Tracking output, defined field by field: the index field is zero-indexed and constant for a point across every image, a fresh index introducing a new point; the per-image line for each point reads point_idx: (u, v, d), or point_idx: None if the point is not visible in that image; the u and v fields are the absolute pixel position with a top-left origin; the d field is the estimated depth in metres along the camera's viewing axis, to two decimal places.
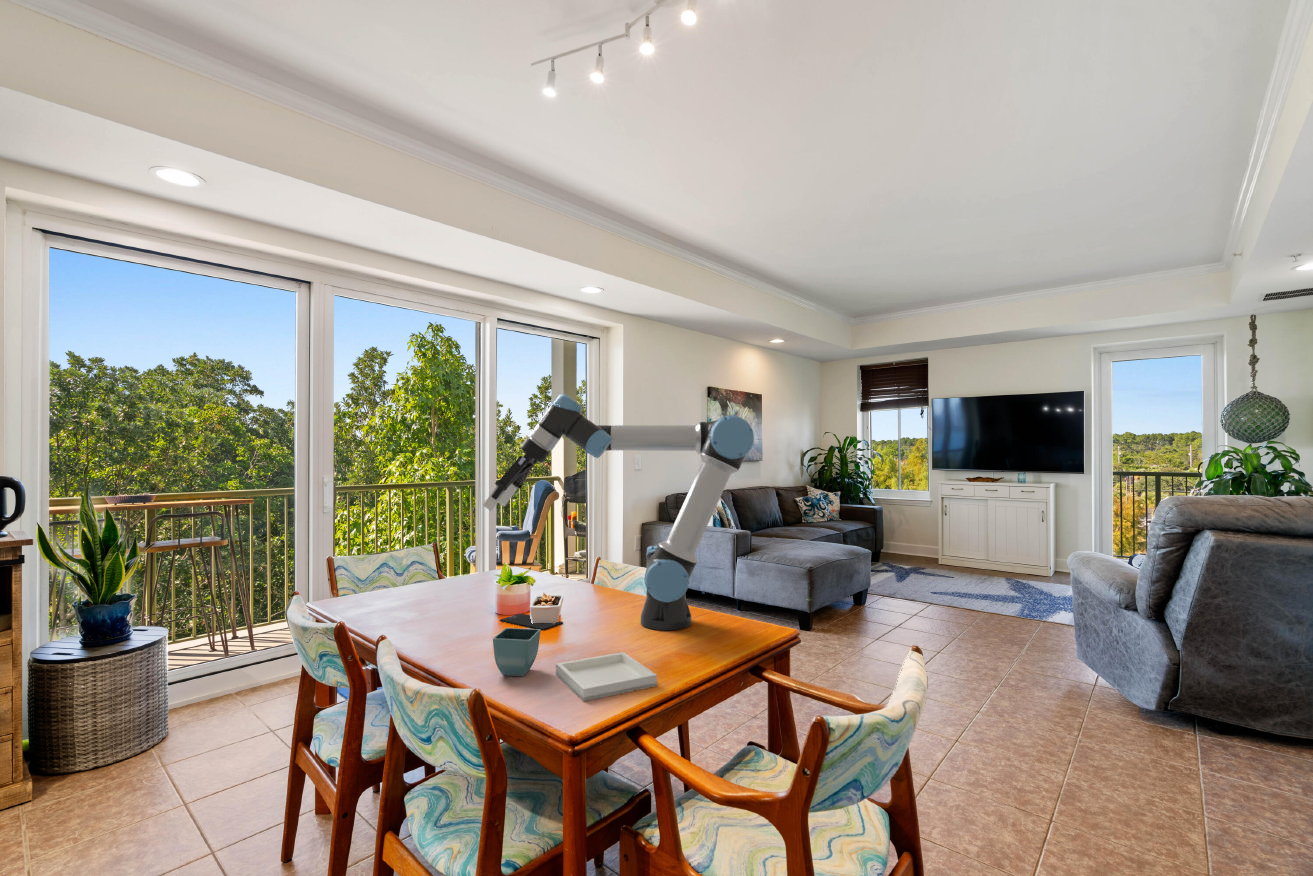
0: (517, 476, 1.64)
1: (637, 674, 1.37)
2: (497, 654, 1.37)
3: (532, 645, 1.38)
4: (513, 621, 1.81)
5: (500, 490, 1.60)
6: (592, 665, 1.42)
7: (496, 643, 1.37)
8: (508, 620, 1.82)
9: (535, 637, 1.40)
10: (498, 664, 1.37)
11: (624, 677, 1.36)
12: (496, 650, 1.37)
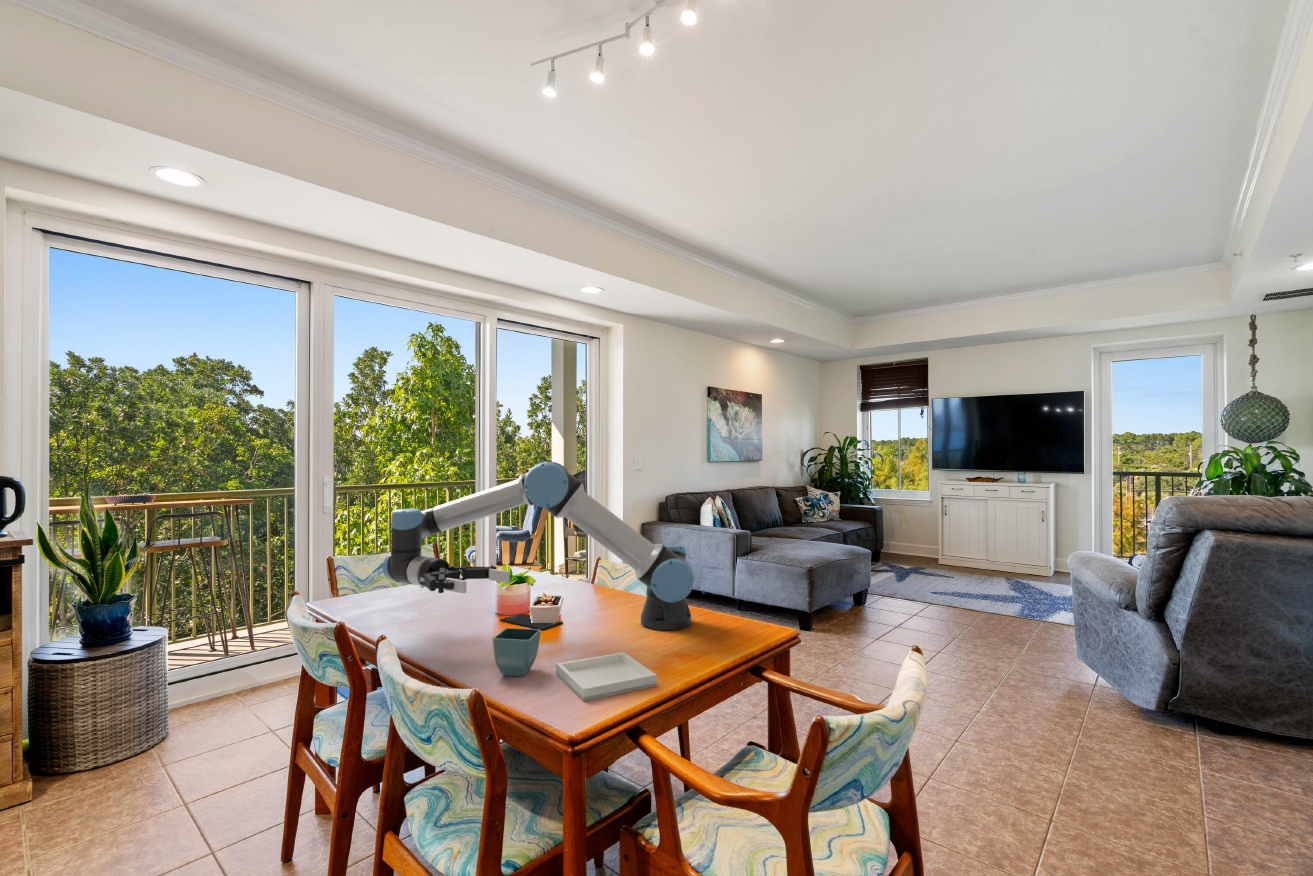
0: (440, 575, 1.48)
1: (637, 674, 1.37)
2: (497, 654, 1.37)
3: (532, 645, 1.38)
4: (513, 621, 1.81)
5: (441, 583, 1.42)
6: (592, 665, 1.42)
7: (496, 643, 1.37)
8: (508, 620, 1.82)
9: (535, 637, 1.40)
10: (498, 664, 1.37)
11: (624, 677, 1.36)
12: (496, 650, 1.37)
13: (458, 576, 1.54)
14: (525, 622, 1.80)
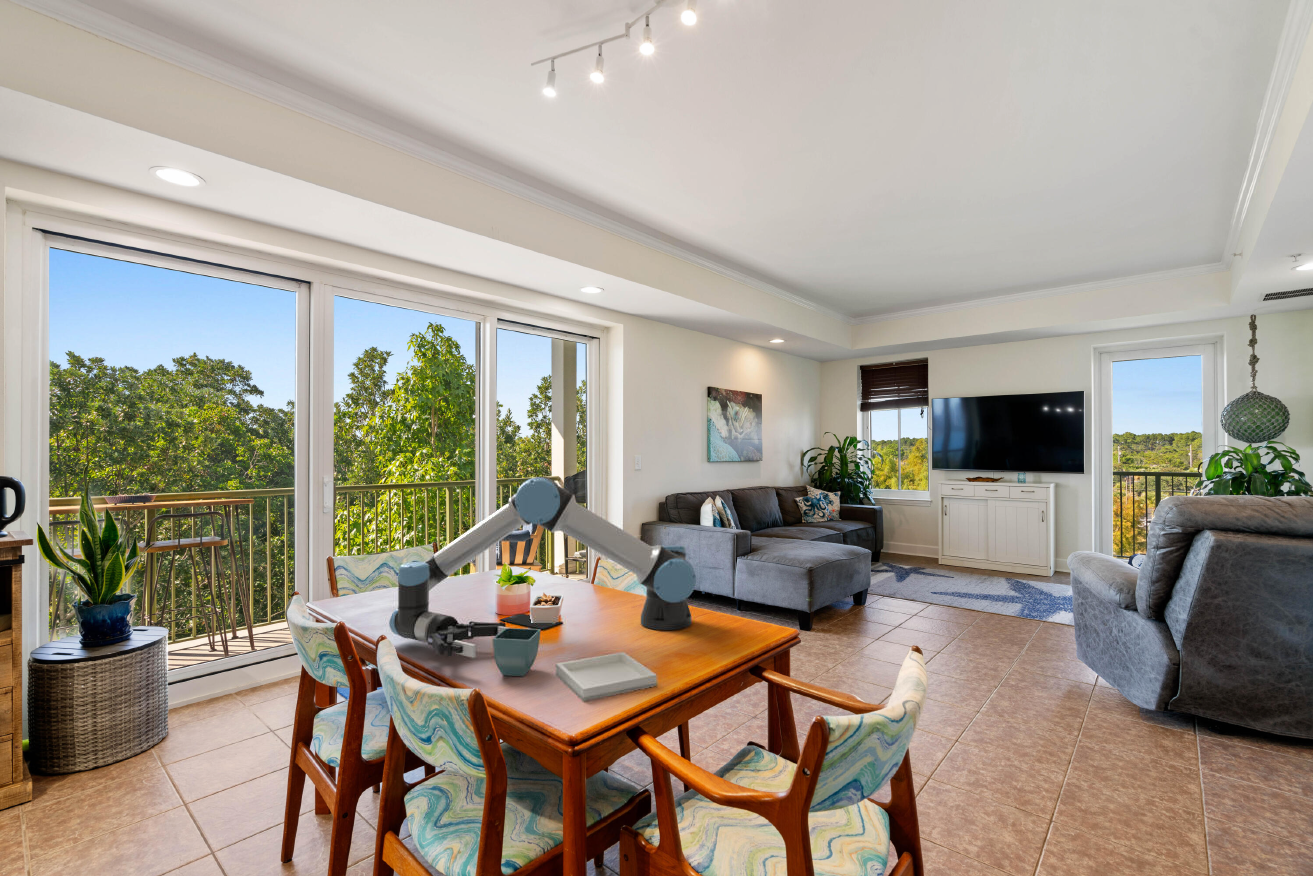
0: (448, 635, 1.45)
1: (637, 674, 1.37)
2: (497, 654, 1.37)
3: (532, 645, 1.38)
4: (513, 621, 1.81)
5: (450, 646, 1.40)
6: (592, 665, 1.42)
7: (496, 643, 1.37)
8: (508, 620, 1.82)
9: (535, 637, 1.40)
10: (498, 664, 1.37)
11: (624, 677, 1.36)
12: (496, 650, 1.37)
13: (466, 634, 1.51)
14: (525, 622, 1.80)
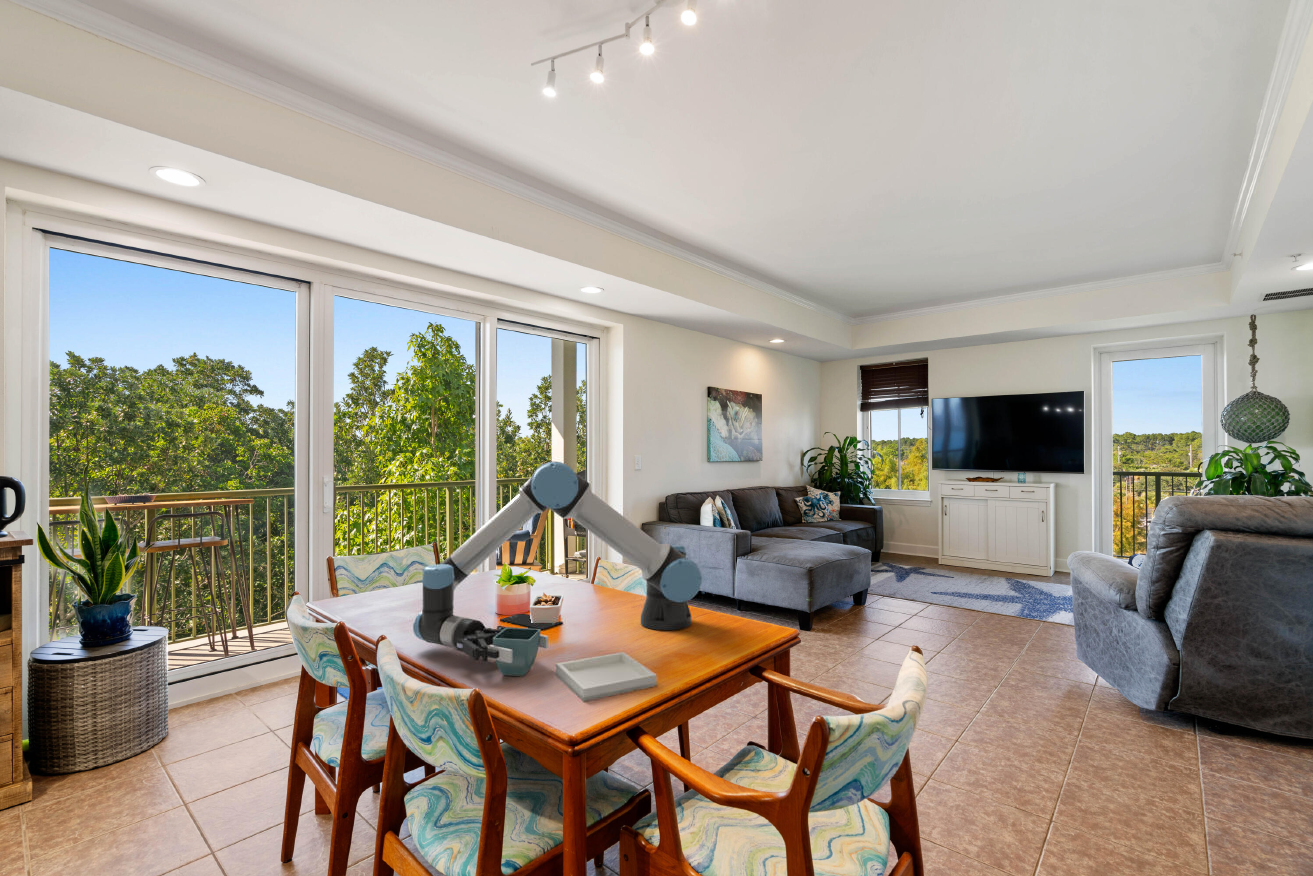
0: (480, 640, 1.41)
1: (637, 674, 1.37)
2: None
3: (532, 645, 1.38)
4: (513, 621, 1.81)
5: (486, 651, 1.35)
6: (592, 665, 1.42)
7: (496, 643, 1.37)
8: (508, 620, 1.82)
9: (535, 637, 1.40)
10: (498, 664, 1.37)
11: (624, 677, 1.36)
12: None
13: None
14: (525, 622, 1.80)
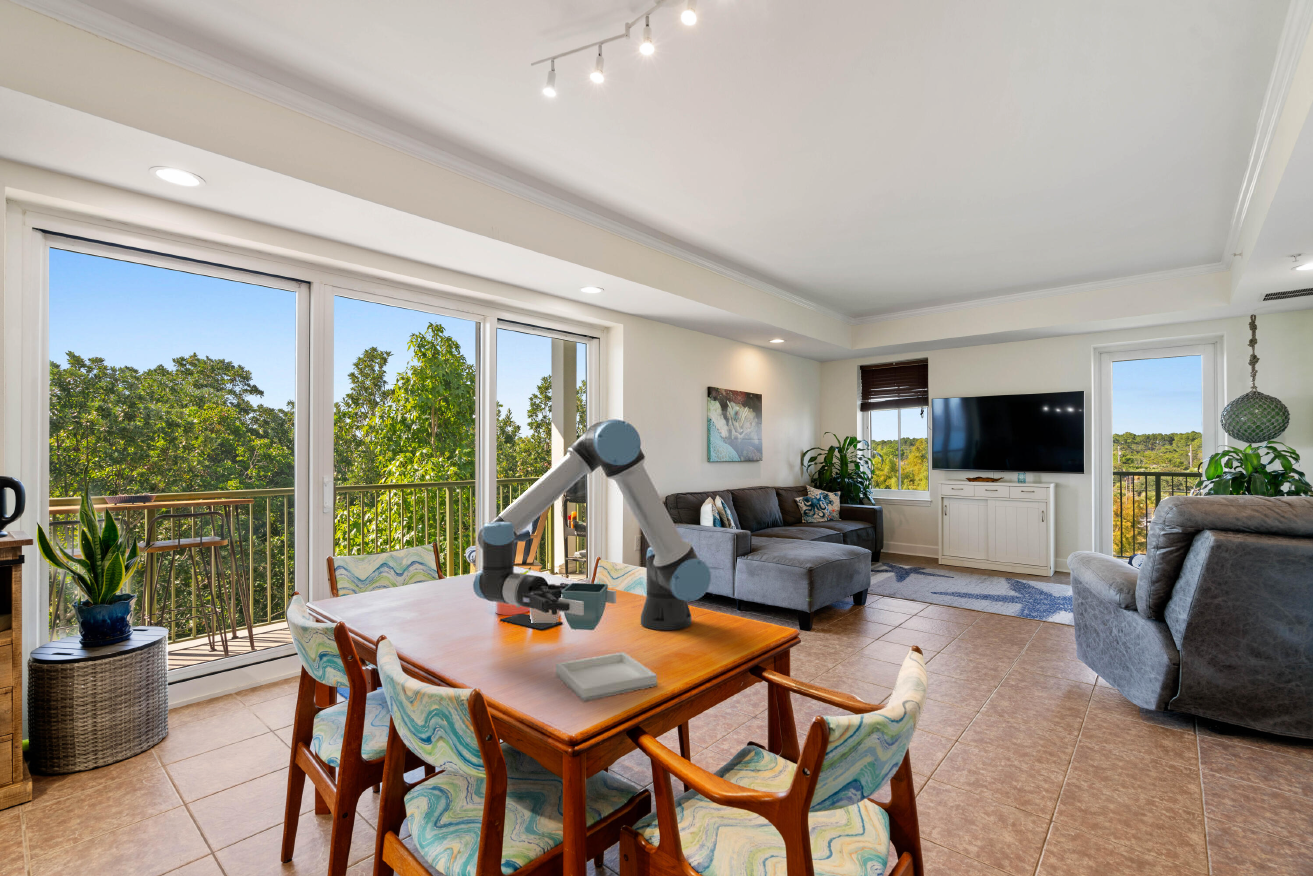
0: (547, 594, 1.37)
1: (637, 674, 1.37)
2: None
3: (602, 598, 1.34)
4: (513, 621, 1.81)
5: (555, 604, 1.31)
6: (592, 665, 1.42)
7: (565, 596, 1.33)
8: (508, 620, 1.82)
9: (604, 590, 1.36)
10: (567, 617, 1.33)
11: (624, 677, 1.36)
12: None
13: (560, 595, 1.42)
14: (525, 622, 1.80)
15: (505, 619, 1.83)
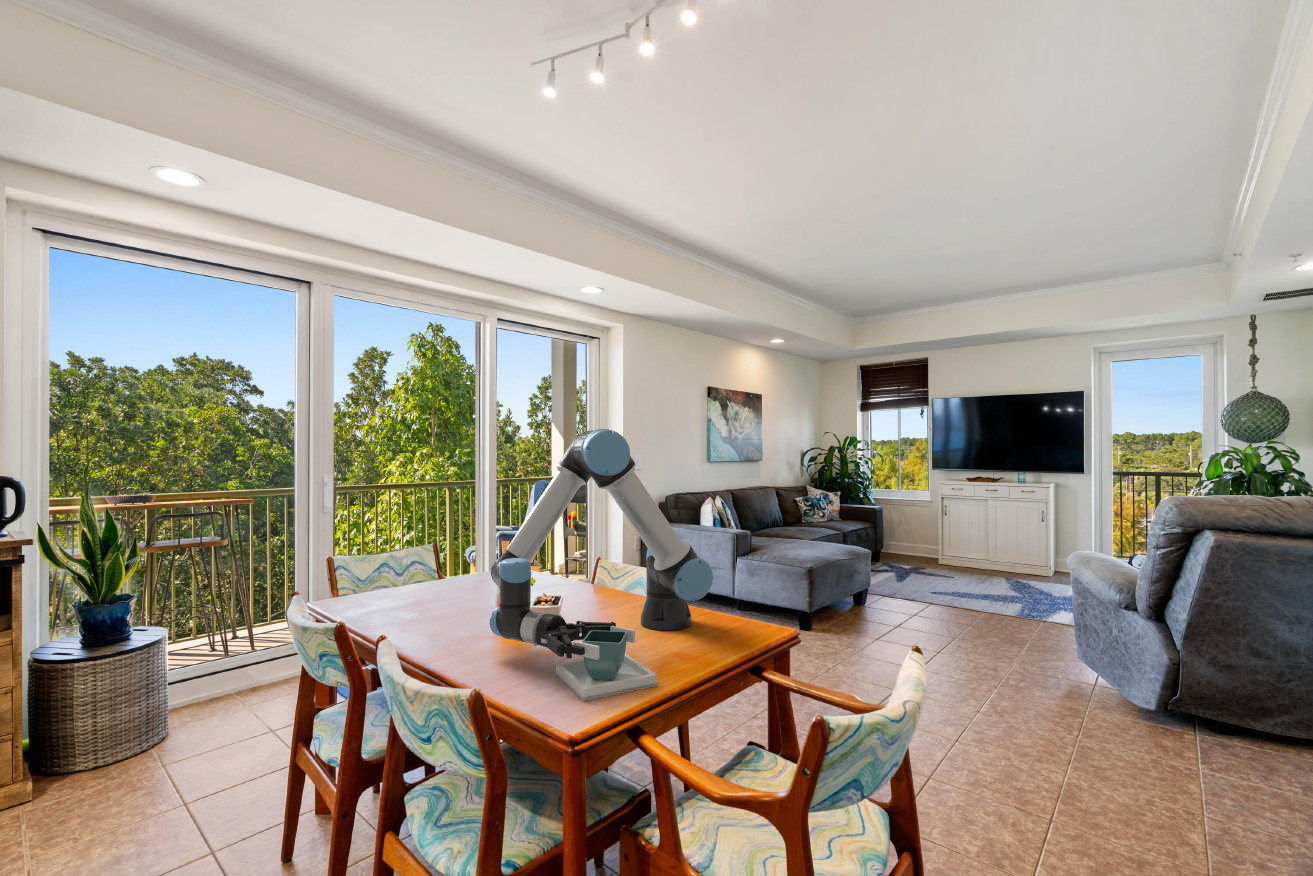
0: (564, 636, 1.36)
1: (637, 674, 1.37)
2: (587, 658, 1.32)
3: (622, 648, 1.34)
4: None
5: (571, 648, 1.30)
6: None
7: None
8: None
9: (624, 640, 1.36)
10: (588, 668, 1.33)
11: (624, 677, 1.36)
12: None
13: (578, 635, 1.42)
14: None
15: None
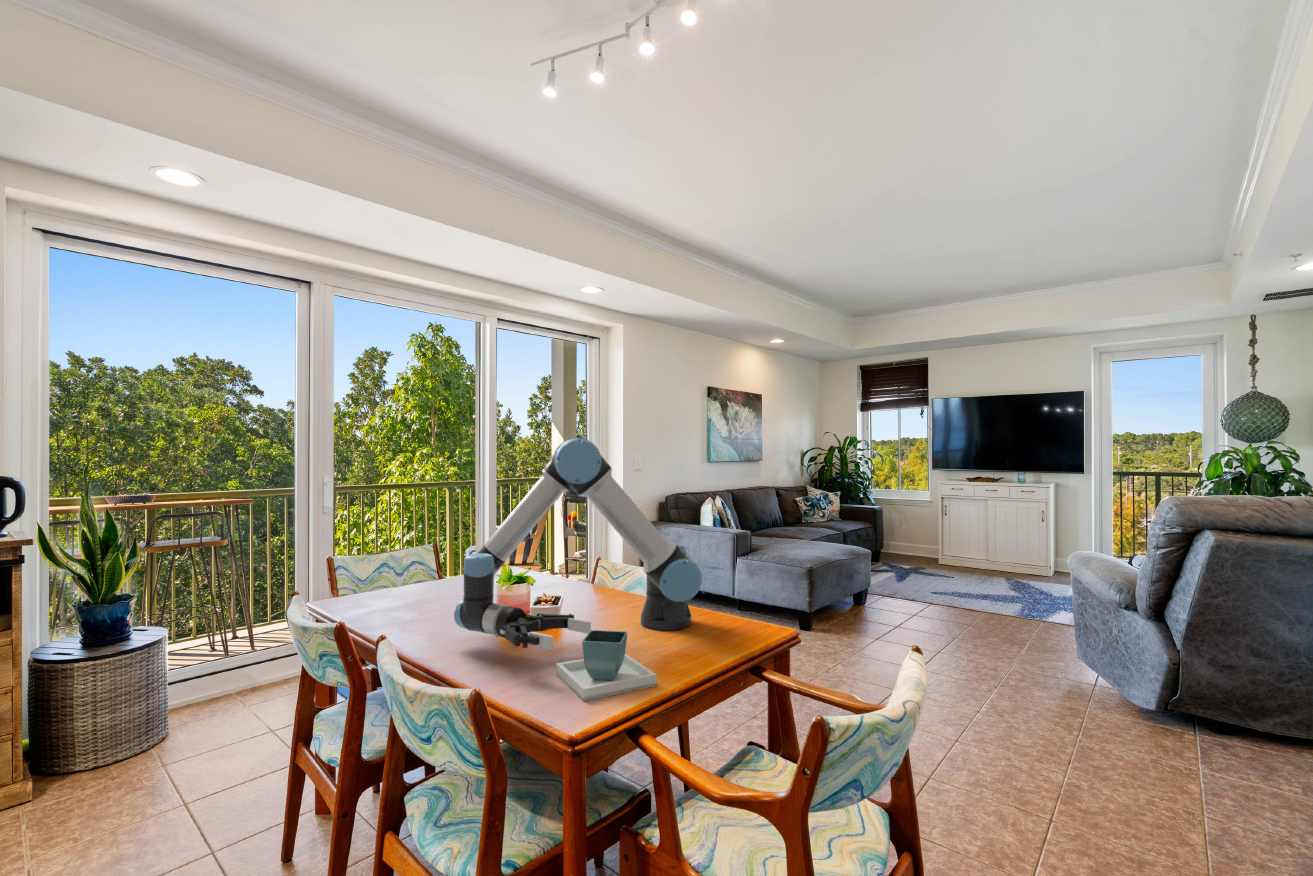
0: (521, 627, 1.43)
1: (637, 674, 1.37)
2: (587, 658, 1.32)
3: (622, 648, 1.34)
4: None
5: (526, 638, 1.37)
6: None
7: (586, 646, 1.32)
8: None
9: (624, 640, 1.36)
10: (588, 668, 1.33)
11: (624, 677, 1.36)
12: (585, 653, 1.32)
13: (537, 626, 1.49)
14: None
15: None
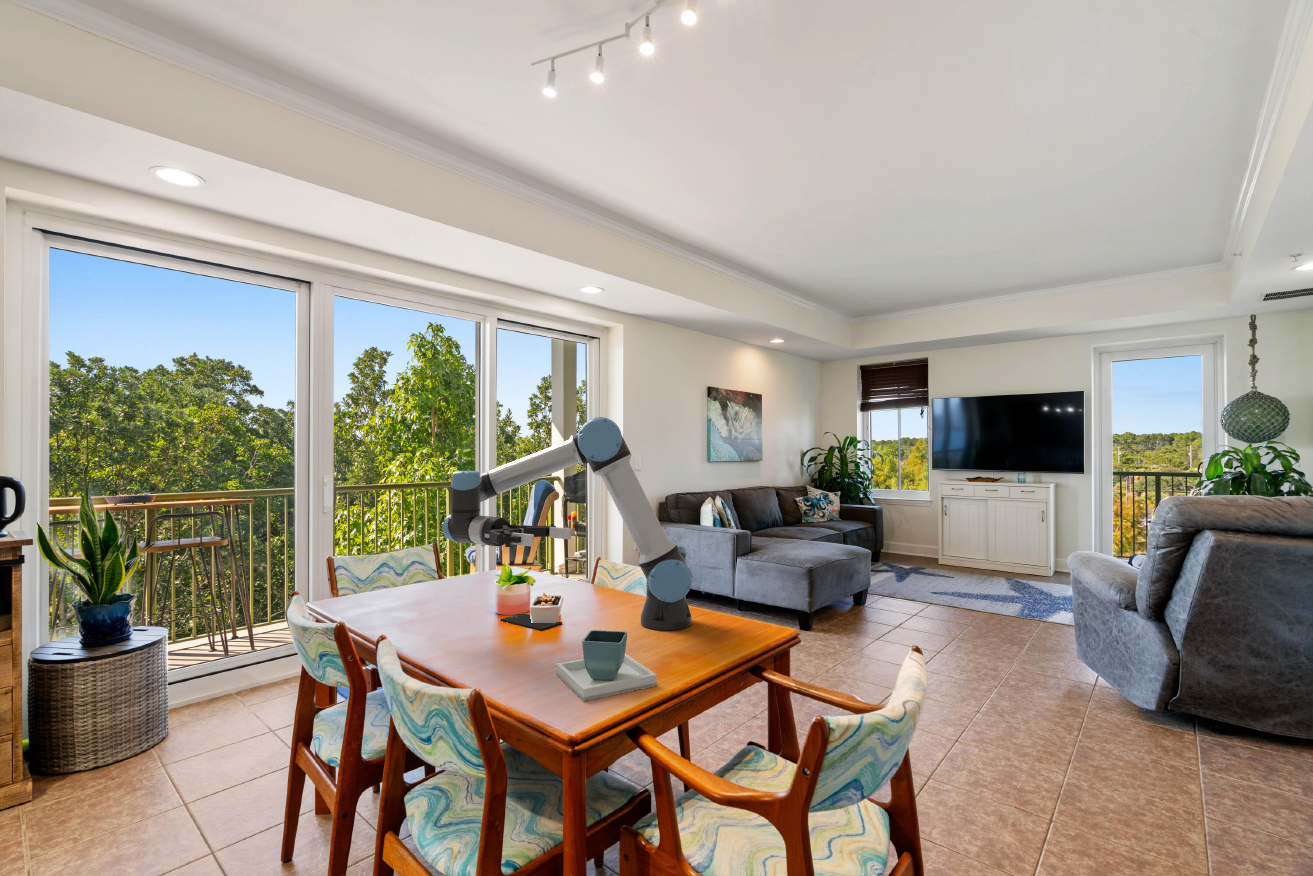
0: (505, 531, 1.51)
1: (637, 674, 1.37)
2: (587, 658, 1.32)
3: (622, 648, 1.34)
4: (513, 621, 1.81)
5: (508, 537, 1.46)
6: None
7: (586, 646, 1.32)
8: (508, 620, 1.82)
9: (624, 640, 1.36)
10: (588, 668, 1.33)
11: (624, 677, 1.36)
12: (585, 653, 1.32)
13: None
14: (525, 622, 1.80)
15: (505, 619, 1.83)
